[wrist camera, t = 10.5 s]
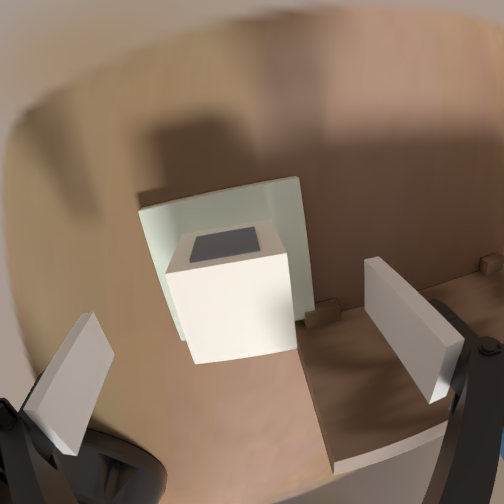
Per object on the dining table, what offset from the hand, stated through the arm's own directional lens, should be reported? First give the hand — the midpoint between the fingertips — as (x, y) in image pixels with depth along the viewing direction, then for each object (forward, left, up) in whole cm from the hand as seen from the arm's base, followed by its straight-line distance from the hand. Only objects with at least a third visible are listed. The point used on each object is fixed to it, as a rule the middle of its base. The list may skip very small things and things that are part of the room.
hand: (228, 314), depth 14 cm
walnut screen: (+13, -6, -5) cm, 16 cm away
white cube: (0, 0, -4) cm, 5 cm away
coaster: (0, 0, -5) cm, 5 cm away
